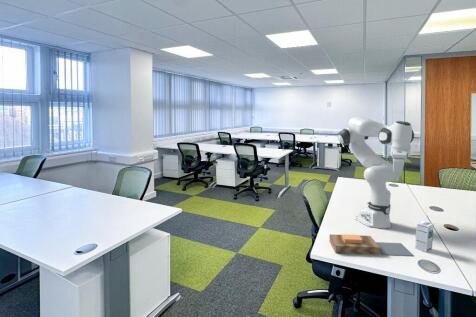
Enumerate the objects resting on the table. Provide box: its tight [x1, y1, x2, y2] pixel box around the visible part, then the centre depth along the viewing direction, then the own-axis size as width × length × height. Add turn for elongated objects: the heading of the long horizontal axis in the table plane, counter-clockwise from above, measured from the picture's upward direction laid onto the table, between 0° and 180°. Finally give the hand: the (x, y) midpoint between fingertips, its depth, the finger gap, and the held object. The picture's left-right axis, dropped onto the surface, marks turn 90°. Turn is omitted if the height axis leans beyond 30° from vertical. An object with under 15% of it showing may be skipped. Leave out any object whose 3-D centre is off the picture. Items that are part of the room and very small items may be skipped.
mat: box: [375, 241, 415, 257], centre depth 151 cm, size 16×14×1 cm
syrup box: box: [414, 220, 435, 253], centre depth 150 cm, size 6×6×14 cm
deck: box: [329, 233, 381, 256], centre depth 153 cm, size 22×14×4 cm, turn 85°
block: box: [341, 233, 363, 243], centre depth 152 cm, size 9×6×2 cm, turn 85°
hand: (397, 178), depth 150 cm, fingers open, 8 cm apart
